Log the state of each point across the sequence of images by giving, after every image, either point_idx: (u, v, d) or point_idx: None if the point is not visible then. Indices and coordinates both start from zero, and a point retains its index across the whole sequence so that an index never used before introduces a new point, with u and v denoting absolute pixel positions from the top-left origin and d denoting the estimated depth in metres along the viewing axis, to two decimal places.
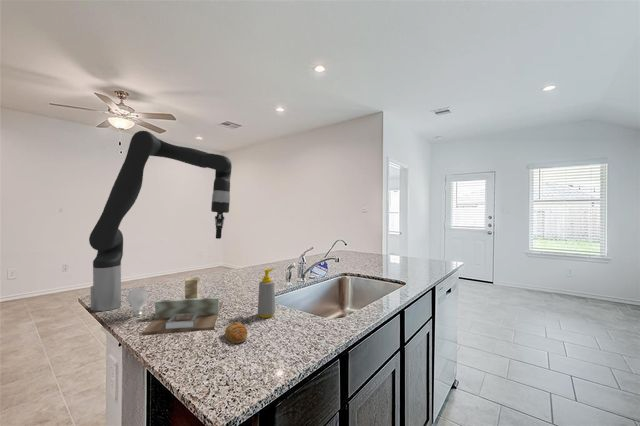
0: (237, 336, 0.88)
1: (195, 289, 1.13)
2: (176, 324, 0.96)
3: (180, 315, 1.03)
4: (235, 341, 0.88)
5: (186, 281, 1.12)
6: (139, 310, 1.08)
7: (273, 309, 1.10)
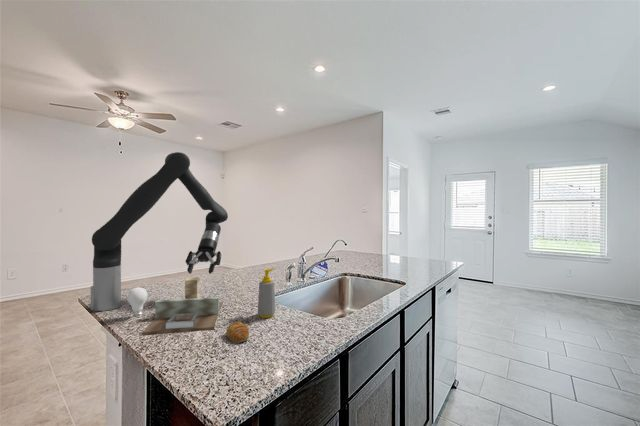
0: (239, 336, 0.89)
1: (195, 289, 1.13)
2: (176, 324, 0.96)
3: (180, 315, 1.03)
4: (237, 340, 0.88)
5: (186, 281, 1.12)
6: (139, 310, 1.08)
7: (273, 309, 1.10)
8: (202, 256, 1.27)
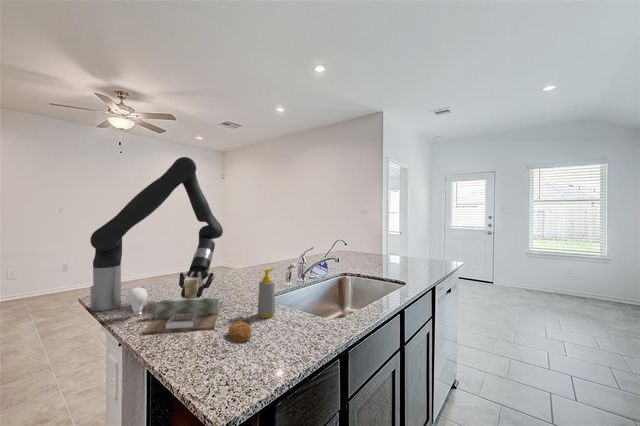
0: (242, 335, 0.89)
1: (195, 289, 1.13)
2: (176, 324, 0.96)
3: (180, 315, 1.03)
4: (240, 339, 0.89)
5: (186, 281, 1.12)
6: (139, 310, 1.08)
7: (273, 309, 1.10)
8: (195, 276, 1.18)
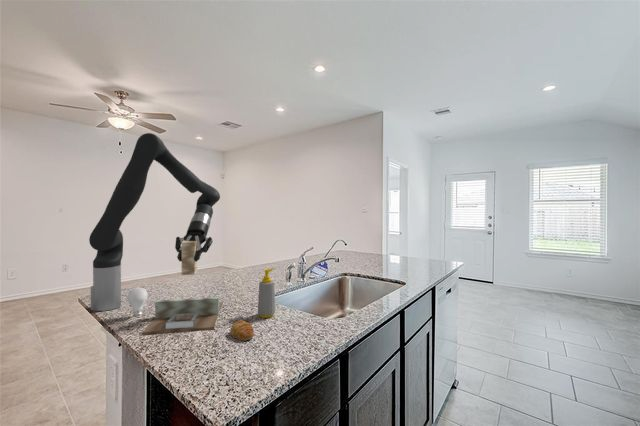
0: (245, 334, 0.90)
1: (192, 252, 1.07)
2: (176, 324, 0.96)
3: (180, 315, 1.03)
4: (243, 338, 0.90)
5: (183, 243, 1.06)
6: (139, 310, 1.08)
7: (273, 309, 1.10)
8: (192, 240, 1.12)
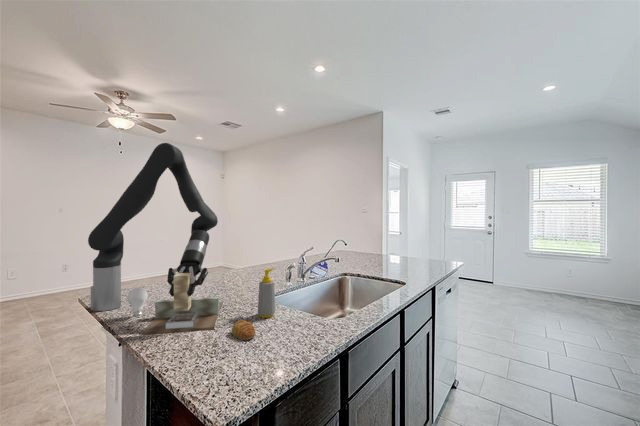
0: (246, 333, 0.91)
1: (185, 286, 0.98)
2: (176, 324, 0.96)
3: (180, 315, 1.03)
4: (245, 338, 0.90)
5: (175, 277, 0.97)
6: (139, 310, 1.08)
7: (273, 309, 1.10)
8: (186, 271, 1.03)
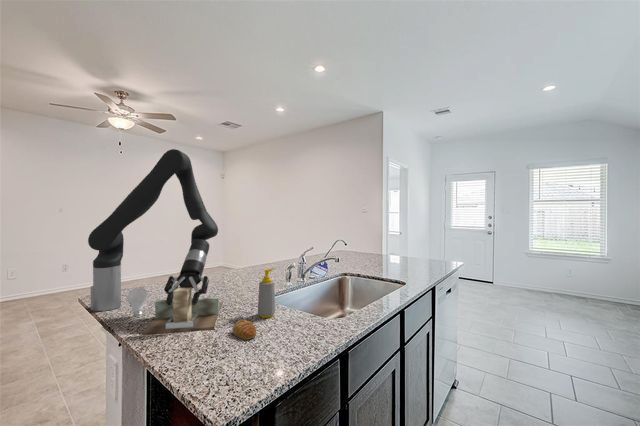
0: (248, 332, 0.91)
1: (185, 301, 0.98)
2: (176, 324, 0.96)
3: None
4: (246, 337, 0.90)
5: (175, 292, 0.98)
6: (139, 310, 1.08)
7: (273, 309, 1.10)
8: (185, 282, 1.03)
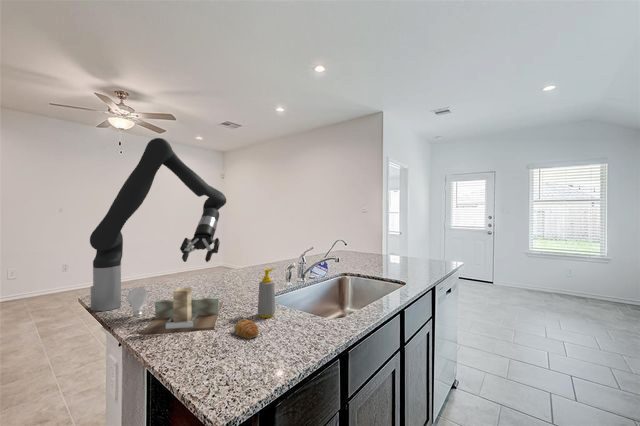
0: (250, 332, 0.92)
1: (185, 301, 0.98)
2: (176, 324, 0.96)
3: None
4: (249, 336, 0.91)
5: (175, 292, 0.98)
6: (139, 310, 1.08)
7: (273, 309, 1.10)
8: (198, 243, 1.16)
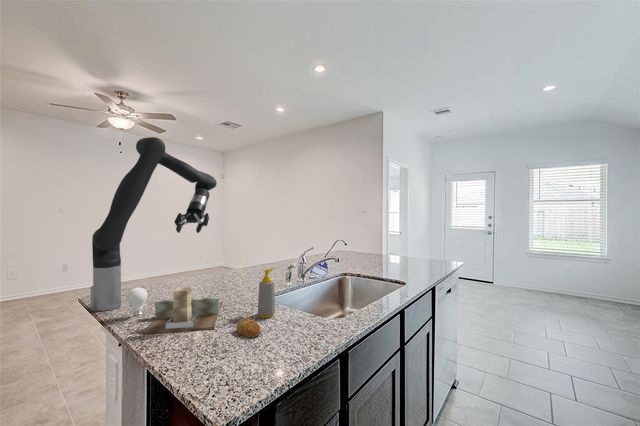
0: (253, 331, 0.92)
1: (185, 301, 0.98)
2: (176, 324, 0.96)
3: None
4: (251, 335, 0.92)
5: (175, 292, 0.98)
6: (139, 310, 1.08)
7: (273, 309, 1.10)
8: (190, 217, 1.33)
